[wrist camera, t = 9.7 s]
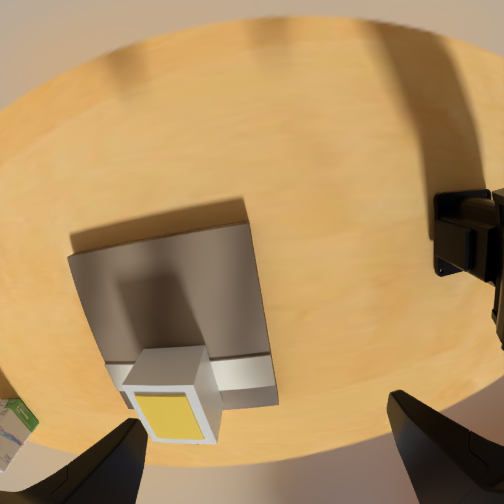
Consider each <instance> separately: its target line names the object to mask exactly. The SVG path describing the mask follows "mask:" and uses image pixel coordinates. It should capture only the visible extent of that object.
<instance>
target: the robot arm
mask: <svg viewBox="0 0 504 504" xmlns="http://www.w3.org/2000/svg"><path fill="white" fill-rule="evenodd" d="M486 193H487V196H486ZM440 197H441V199H442V200H441V202H440V201H439V200H440ZM492 197H493V200H491V192H490V190H488V189H477V190H465V191H453V192H442V193H437V194H436V195H435V197H434V206H435V273H436V274H437V275H438V276H440V277H442V276H446V275H450V274H454V273H458V272H462V271H465V272H468V273H470V274H471V275H473V276H475V277H477V278H479V279H480V280H482V281H484V282H486V283H489V284H490V285H492V286H494V287H495V299H494V309H492V316H491V317H492V319H493V321H494V323H495V324H496V333H497V335H498V337H499V339H500V341H501V343H502V346H501V348H502V350H503V351H504V188H502V189H499V190H495V191H492ZM441 268H442V270H441V272H440V269H441ZM387 414H388V418H389V421H390V425H391V428H392V432H393V435H394V439H395V442H396V446H397V448H398V451H399V453H400V456H401V458H402V460H403V463H404V465H405V468H406V470H407V473H408V475H409V478H410V480H411V483H412V485H413V488H414V490H415V493H416V495H417V498H418V501H419V503H420V504H504V446H502V445H499V444H496V443H494V442H492V441H489V440H487V439H485V438H483V437H481V436H479V435H477V434H476V433H474V432H472V431H470V432H469V429H467V428H465V427H463V426H461V425H460V424H458V423H456V422H455V421H453V420H451V419H449V418H448V417H446V416H444V415H442V414H441V413H439V412H438V411H436V410H434V409H432V408H431V407H429V406H427V405H426V404H424V403H422V402H421V401H419V400H417V399H416V398H414V397H413V396H411V395H409V394H408V393H406V392H404V391H403V390H396V391H393V392H390V394H389V398H388V403H387ZM147 440H148V434H147V431H146V430H145V428H144V426H143V425H142V423H141V421H140V420H139V419H136V418H128V419H127V420H125V421H124V422H123V423H122V424H120V425H119V426H118V427H116V428H115V429H114V430H113V431H111V432H110V433H109V434H107V435H106V436H105V437H104V438H102V439H101V440H100V441H98V442H97V443H96V444H94V445H93V446H92V447H90V448H89V449H88V450H86V451H85V452H84V453H82V454H81V455H80V456H78V457H77V458H76V459H74V460H73V461H71V462H70V463H69V464H68V465H66V466H65V467H63V468H62V469H60V470H59V471H57V472H56V473H54V474H53V475H51V476H49V477H47V478H46V479H44V480H42V481H40V482H39V483H37V484H35V485H33V486H31V487H29V488H27V489H25V490H23V491H19V492H6V491H0V504H135V503H136V499H137V494H138V490H139V486H140V481H141V478H142V474H143V469H144V463H145V455H146V447H147Z"/></svg>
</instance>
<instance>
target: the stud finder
mask: <svg viewBox="0 0 504 504" xmlns="http://www.w3.org/2000/svg"><path fill="white" fill-rule="evenodd" d="M122 386H123V388H124V390H125V392H126V394H127V396H128V398H129V400H130V402H131V404H132V405H133V407H134V409H135V411H136V413H137V414H138V416H139V418H140V420H141V421H142V423H143V425H144V427H145V428H146V430H147V432H148V433H149V435H150V437H151V438H152V440H153V441H154V442H163V443H182V444H217V442H218V435H219V429H220V422H221V415H222V409H223V401H222V398H221V395H220V392H219V388H218V385H217V382H216V379H215V376H214V372H213V369H212V366H211V363H210V359H209V356H208V352H207V349H206V345H200V346H187V347H172V348H154V349H143V351H142V352H141V354H140V356H139V357H138V359H137V361H136V362H135V364H134V365H133V367H132V369H131V370H130V372H129V374H128V375H127V377H126V379H125V380H124V382H123V384H122Z"/></svg>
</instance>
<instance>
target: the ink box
mask: <svg viewBox="0 0 504 504" xmlns="http://www.w3.org/2000/svg"><path fill="white" fill-rule="evenodd" d="M38 424H39V421H38V420H37V419H36V418H35V417H34V416H33V414H32V413H31V412H30V411H29V410H28V408H27V407H26V406H25V405H24V403H23V402H22V401H21V399H3V400H0V472H5V471H6V470H7V468H8V467H9V465H10V464H11V462H12V461H13V459H14V458H15V456H16V455H17V453H18V452H19V450H20V449H21V447H22V446H23V445H24V443H25V442H26V440H27V439H28V438H29V436H30V435H31V433H32V432H33V431H34V429H35V428H36V427H37V425H38Z"/></svg>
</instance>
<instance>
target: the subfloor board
mask: <svg viewBox="0 0 504 504" xmlns="http://www.w3.org/2000/svg"><path fill="white" fill-rule="evenodd" d="M67 259H68V263H69V266H70V270H71V273H72V276H73V280H74V283H75V286H76V289H77V292H78V295H79V298H80V301H81V304H82V307H83V310H84V312H85V315H86V318H87V321H88V323H89V326H90V328H91V331H92V333H93V336H94V338H95V341H96V343H97V345H98V348H99V350H100V352H101V355H102V357H103V359H104V361H105V367H106V369H107V371H108V373H109V375H110V377H111V379H112V381H113V383H114V385H115V387H116V389H117V391H119V392H120V394H121V396H122V398H123V399H124V401H125V403H126V405H127V407H128V409H134V407H133V405H132V404H131V402H130V400H129V398H128V396H127V394H126V392H125V390H124V388H123V386H122V384H123V382H124V380H125V379H126V377H127V375H128V374H129V372H130V370H131V369H132V367H133V365H134V364H135V362H136V361H137V359H138V357H139V356H140V354H141V352H142V351H143V349H154V348H172V347H187V346H200V345H206V349H207V352H208V356H209V359H210V363H211V366H212V369H213V372H214V376H215V379H216V382H217V385H218V388H219V392H220V395H221V398H222V401H223V409H222V410H230V409H244V408H255V407H265V406H274V405H279V399H278V391H277V385H276V379H275V373H274V367H273V361H272V355H271V349H270V343H269V337H268V331H267V325H266V319H265V313H264V307H263V301H262V295H261V289H260V283H259V277H258V271H257V265H256V259H255V253H254V247H253V241H252V235H251V229H250V223H249V221H244V222H238V223H232V224H226V225H220V226H214V227H208V228H203V229H197V230H191V231H186V232H180V233H175V234H169V235H164V236H158V237H153V238H148V239H142V240H137V241H132V242H127V243H122V244H117V245H112V246H107V247H102V248H97V249H93V250H88V251H83V252H78V253H75V254H73V255H70V256H68V257H67Z"/></svg>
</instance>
